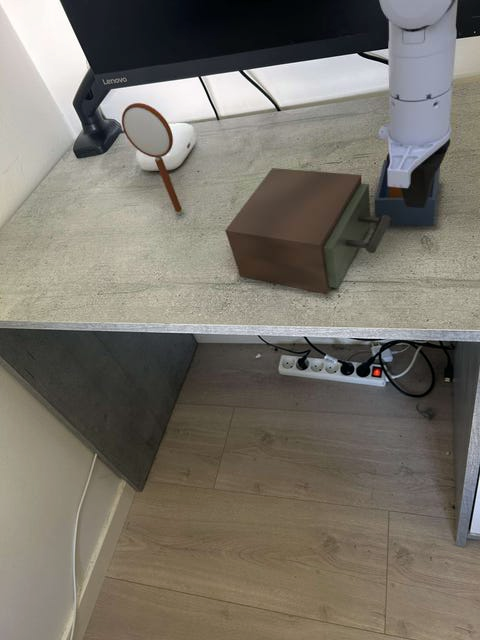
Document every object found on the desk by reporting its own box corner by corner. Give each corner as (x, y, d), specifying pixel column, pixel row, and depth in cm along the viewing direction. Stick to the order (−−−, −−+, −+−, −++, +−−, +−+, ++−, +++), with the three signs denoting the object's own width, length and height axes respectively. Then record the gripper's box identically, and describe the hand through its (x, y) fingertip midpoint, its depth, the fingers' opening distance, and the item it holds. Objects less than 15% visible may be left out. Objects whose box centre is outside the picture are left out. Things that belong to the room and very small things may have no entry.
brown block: (424, 199, 72) (425, 175, 69) (419, 211, 70) (420, 187, 68) (394, 196, 74) (394, 173, 71) (388, 207, 73) (388, 184, 70)
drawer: (399, 227, 69) (399, 186, 64) (367, 294, 62) (365, 254, 57) (292, 214, 76) (285, 176, 72) (254, 272, 70) (243, 235, 65)
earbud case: (204, 140, 101) (196, 115, 97) (180, 176, 94) (170, 151, 90) (162, 142, 105) (153, 118, 101) (135, 177, 98) (125, 153, 94)
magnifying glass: (158, 215, 87) (110, 106, 72) (163, 209, 88) (117, 101, 73) (198, 220, 83) (156, 106, 69) (203, 213, 84) (163, 100, 69)
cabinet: (364, 225, 72) (361, 174, 66) (327, 294, 65) (320, 245, 58) (282, 214, 78) (272, 167, 72) (240, 276, 71) (224, 230, 65)
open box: (384, 184, 77) (384, 159, 74) (438, 183, 74) (440, 157, 71) (375, 225, 71) (374, 199, 68) (433, 226, 68) (435, 199, 65)
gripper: (400, 54, 52) (400, 165, 62) (353, 125, 45) (361, 239, 55) (471, 51, 49) (459, 169, 59) (433, 128, 42) (426, 248, 51)
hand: (416, 203), depth 57 cm, fingers closed
